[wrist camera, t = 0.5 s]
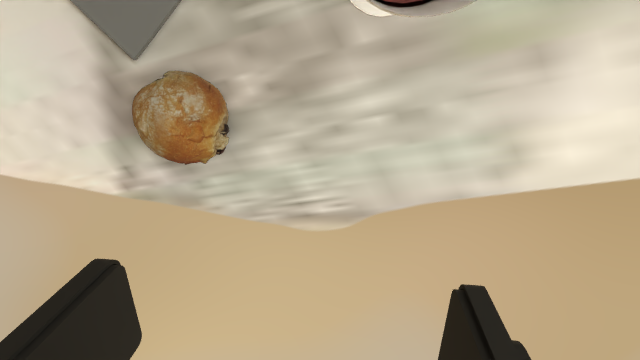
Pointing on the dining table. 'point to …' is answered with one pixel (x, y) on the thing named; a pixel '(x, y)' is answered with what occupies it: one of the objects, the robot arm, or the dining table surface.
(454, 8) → the wineglass
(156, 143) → the bread roll
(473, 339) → the robot arm
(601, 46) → the dining table surface
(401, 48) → the dining table surface
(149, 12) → the mat
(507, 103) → the dining table surface
